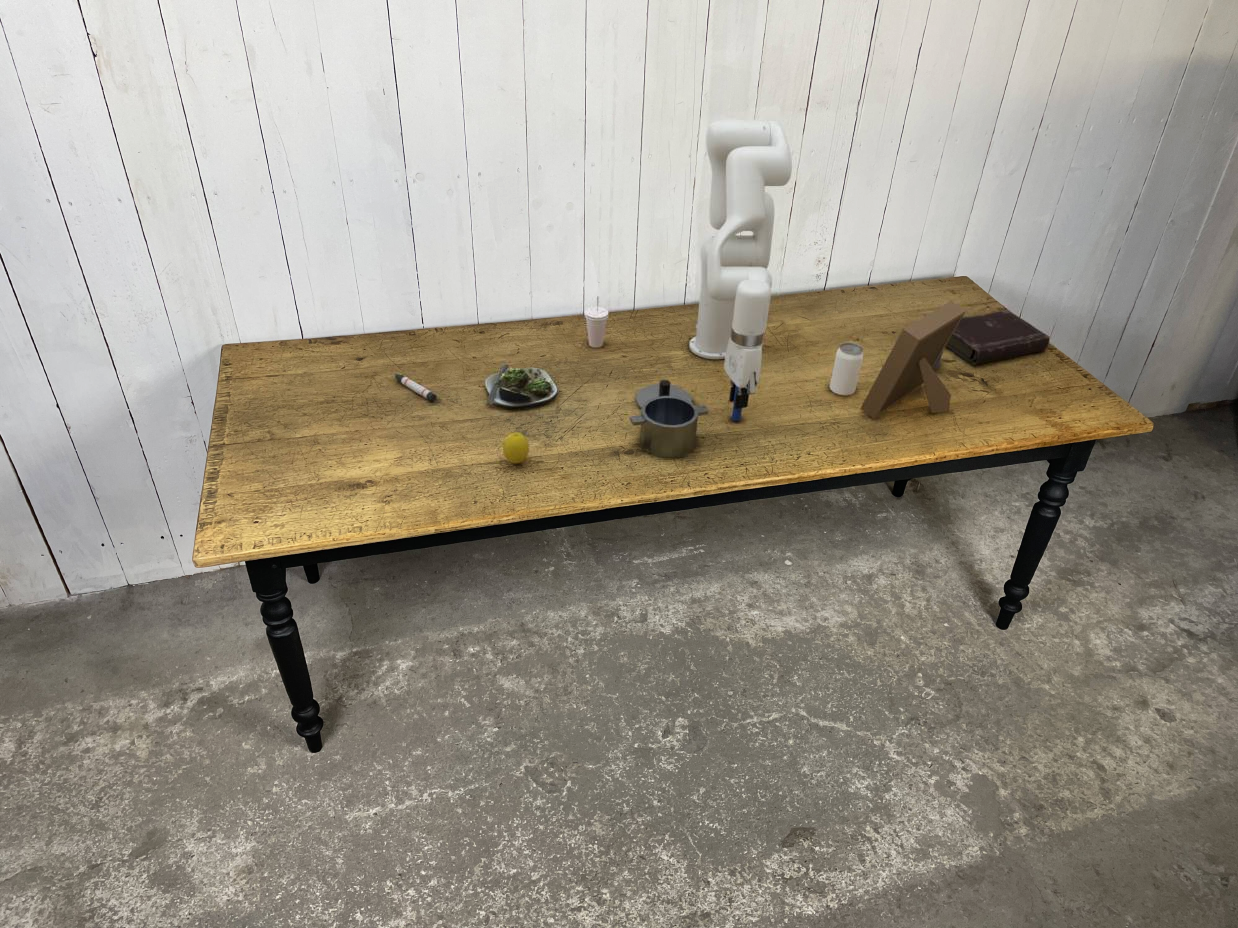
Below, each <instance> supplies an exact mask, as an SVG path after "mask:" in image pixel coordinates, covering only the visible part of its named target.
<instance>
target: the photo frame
mask: <svg viewBox="0 0 1238 928" xmlns="http://www.w3.org/2000/svg"><path fill="white" fill-rule="evenodd" d="M966 312H967V309H965V308H964V307H962V306H961V305H959V304H957V303H956V302H954V301H953V300H950V301H948V302H946V303H945V304H942V305H941V306H940V307H938V308H936V309H935V310H933V311H931V312H930V313H927V314H926V315H925V316H923V317H921V318H919V319H918V320H916V321H914V322H913V323H911V324H909V325H907V326H906V327H905V328H903V329H902V330H901V332H900V334H899V336H898V337H897V340H896V341H895V343H894V345H893V347H892V349H891V351H890V353H889V355H888V356H887V358H886V360H885V362H884V364H883V365H882V367H881V369H880V371H879V373H878V374H877V376H876V378H875V380H874V382H873V384H872V386H871V388H870V390H869V392H868V393H867V394H866V396H865V398H864V401H863V402H862V404H861V406H860V408H859V409H860V410H861V411H862V412H864V413H865V414H866V415H868V416H869V417H871V418H872V419H873V420H875V419H877V418H878V417H880V416H881V415H883V414H884V413H886V412H887V411H888V410H890V409H891V408H893V407H895V406H896V405H897V404H899V403H900V402H902V401H903V400H905V399H906V398H908V397H909V396H910V395H912V394H913V393H915V392H917V391H918V390H919V389H920V388H922V386H923V387H924V391H925V395H926V399H927V402H928V406H929V410H930V413H931V414H938V413H947V412H949V409H950V405H951V400H952V399H951V398H952V394H951V393H950V391H949V390H948V388H947V387H946V386H945V384H944V383H943V381H942V380H941V379H940V376H938V374H937V372H935V370H934V368H932V367H933V366H934V364H935V362H936V361H937V359H938V357H939V356H940V354H941V352H942V351H943V352H944V350H945V347H946V344H947V342H948V341H949V339H950V337H951V336H952V334H953V332H954V331H955V329H956V327H957V326H958V324H959V322H960V321H961V319H962V318H963V317H965V314H966ZM943 349H944V350H943Z"/></svg>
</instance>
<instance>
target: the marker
mask: <svg viewBox="0 0 1238 928" xmlns="http://www.w3.org/2000/svg"><path fill="white" fill-rule="evenodd" d="M394 377H395V379H396V380H397V382H398V383H400V384H401V385H403V386H405V387H407V388H408V389H409V390H411V391H413V392H415V393H416V394H418V395H420V396H421V397H423V398H425V399H426V400H428V401H430V402H432V403H433V402H435V401H436V400H437V397H438V396H437V394H435V393H434V392H433V391H431V390H429V389H427V388H426V387H424V386H422V385H420V384H419V383H417V382H415V381H414V380H412V379H410V378H409V377H407V376H406V375H404V374H399V373H397V374H396V373H394Z"/></svg>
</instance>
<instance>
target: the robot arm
mask: <svg viewBox="0 0 1238 928" xmlns="http://www.w3.org/2000/svg"><path fill="white" fill-rule="evenodd" d="M705 145H706V146H705V148H706V152H707V156H708V160H709V163H710V167H711V181H710V195H709V196H710V197H709V212H708V213H709V214H708V215H709V217H708V218H709V224H710V226H711V227H712V228H713V229H714V230H716V233H715V235H712V236H709V237H707V238H706V239H704V241H703V242H702V244H701V246H700V268H701V269H700V270H701V271H700V272H701V275H700V276H701V278H700V291H699V301H698V311H697V313H698V314H697V320H696V321H697V322H696V325H695V328H696V331H695V332H696V333H695V336H694V337H692V338H691V339H690V340H689V345H688V346H689V350H690V352H691V353H693V354H694V355H696V356H698V357H700V358H703V359H707V360H723V359H724V361H723V362H724V363H723V369H724V371H725V373H726V374H727V376H728V377H729V379H730V381H729V382H730V384H729V385H730V391H729V396H728V397H729V398H728V401H729V402H730V403H734V396H735V389H736V386H737V387H738V393H737V394H736V397H735V404H734V407H735V409H739V408H742V409H745V408H747V407H748V405H749V398H750V396H751V395H755V394H756V387H757V386H758V384H759V382H760V380H761V379H760V377H761V371H762V361H763V360H762V359H763V345H764V344H765V339H766V331H767V323H768V319H769V312H770V305H771V300H772V299H771V298H772V285H773V279H772V278H773V277H772V275H771V273H770V272H769V270H768V267H769V264H770V260H771V252H772V242H773V234H774V223H775V202H774V199H773V196H772V195H771V194H769V192H766V188H765V187H784V186H786V185H787V184H788V183H789V181H790V179H791V177H792V173H793V172H792V170H793V161H792V154H791V153H792V152H791V148H790V145H789V142H788V139H787V136H786V132H785V129H784V127H783V125H782V124H781V123H780V122H779V121H776V120H771V119H769V120H768V119H720V120H716V121H713V122H711V123H710V124H709V125H708V127H707V129H706V134H705ZM742 232H752V235H751V234H750V235H749V234H746V235H742V234H740V233H742ZM744 387H745V388H744ZM743 388H744V389H743Z"/></svg>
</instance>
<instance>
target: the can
mask: <svg viewBox="0 0 1238 928" xmlns="http://www.w3.org/2000/svg"><path fill="white" fill-rule="evenodd" d="M863 351H864V349H863V347H862V346H861V345H859V344H858V343H854V342H843V343H841V344H840V345H839V347H838V349H837V351H836V354H835V359H834V364H833V368H832V373H831V377H830V378H831V379H830V383H829V389H830V391H831V392H832V393H833V394H835V395H838V396H842V397H849V396H851V395H854V393H855V392H856V390H857V385H858V382H859V378H860V374H861V368H862V365H863V360H864V352H863Z"/></svg>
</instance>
